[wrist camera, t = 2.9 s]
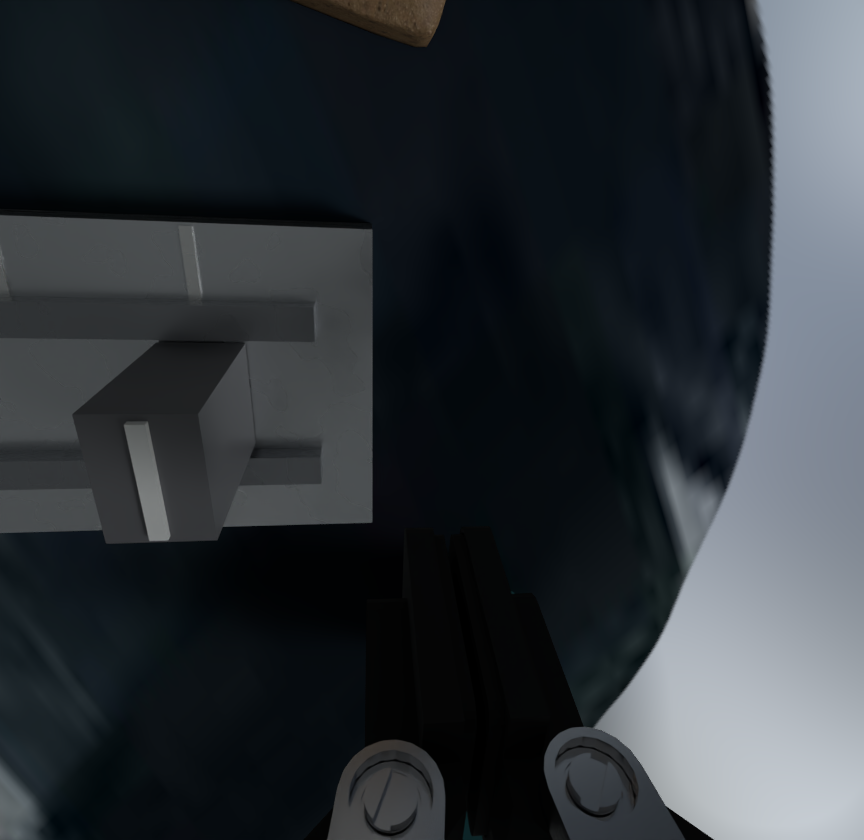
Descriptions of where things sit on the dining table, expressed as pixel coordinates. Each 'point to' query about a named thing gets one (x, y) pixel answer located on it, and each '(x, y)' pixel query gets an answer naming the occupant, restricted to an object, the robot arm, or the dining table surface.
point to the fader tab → (169, 442)
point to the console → (187, 323)
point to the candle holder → (386, 17)
